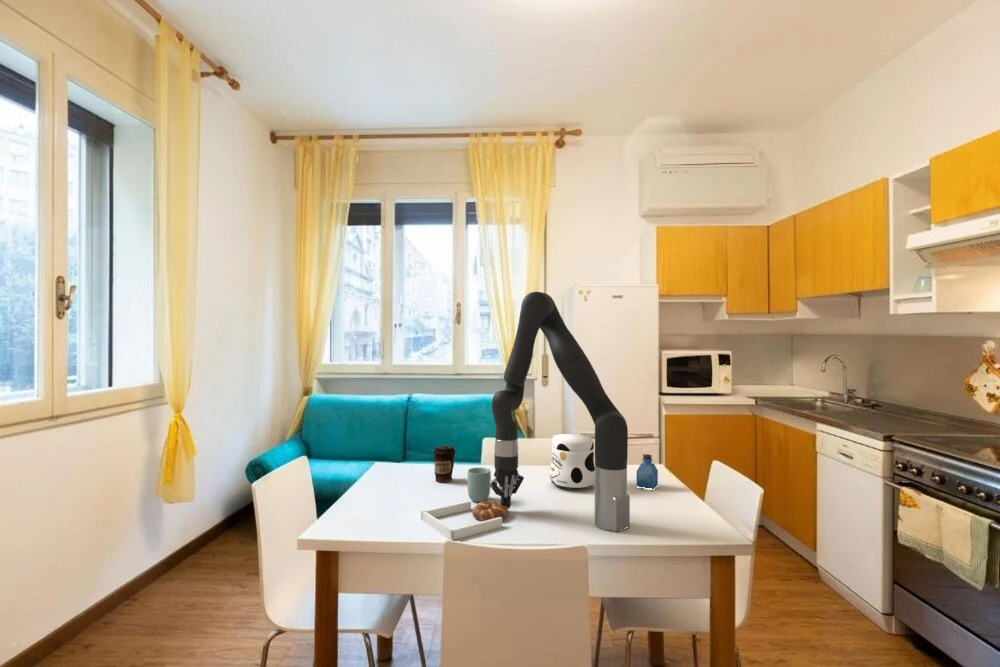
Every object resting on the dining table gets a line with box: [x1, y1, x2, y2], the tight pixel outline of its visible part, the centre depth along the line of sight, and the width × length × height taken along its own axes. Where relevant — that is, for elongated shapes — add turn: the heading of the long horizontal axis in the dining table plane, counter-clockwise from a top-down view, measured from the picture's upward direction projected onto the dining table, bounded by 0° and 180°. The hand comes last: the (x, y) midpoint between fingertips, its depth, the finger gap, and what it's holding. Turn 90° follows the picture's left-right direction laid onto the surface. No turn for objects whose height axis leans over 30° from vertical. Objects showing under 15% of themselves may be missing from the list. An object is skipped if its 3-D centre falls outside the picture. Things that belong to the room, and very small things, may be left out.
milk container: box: [548, 433, 595, 491], centre depth 176 cm, size 17×17×18 cm
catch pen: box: [420, 500, 503, 541], centre depth 138 cm, size 18×17×2 cm
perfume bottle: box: [635, 453, 659, 489], centre depth 175 cm, size 6×6×12 cm
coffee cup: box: [433, 445, 456, 483], centre depth 180 cm, size 9×8×13 cm
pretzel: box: [471, 500, 509, 522], centre depth 144 cm, size 12×11×4 cm
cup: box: [467, 467, 492, 503], centre depth 158 cm, size 8×8×10 cm
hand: (505, 508), depth 148 cm, fingers closed
